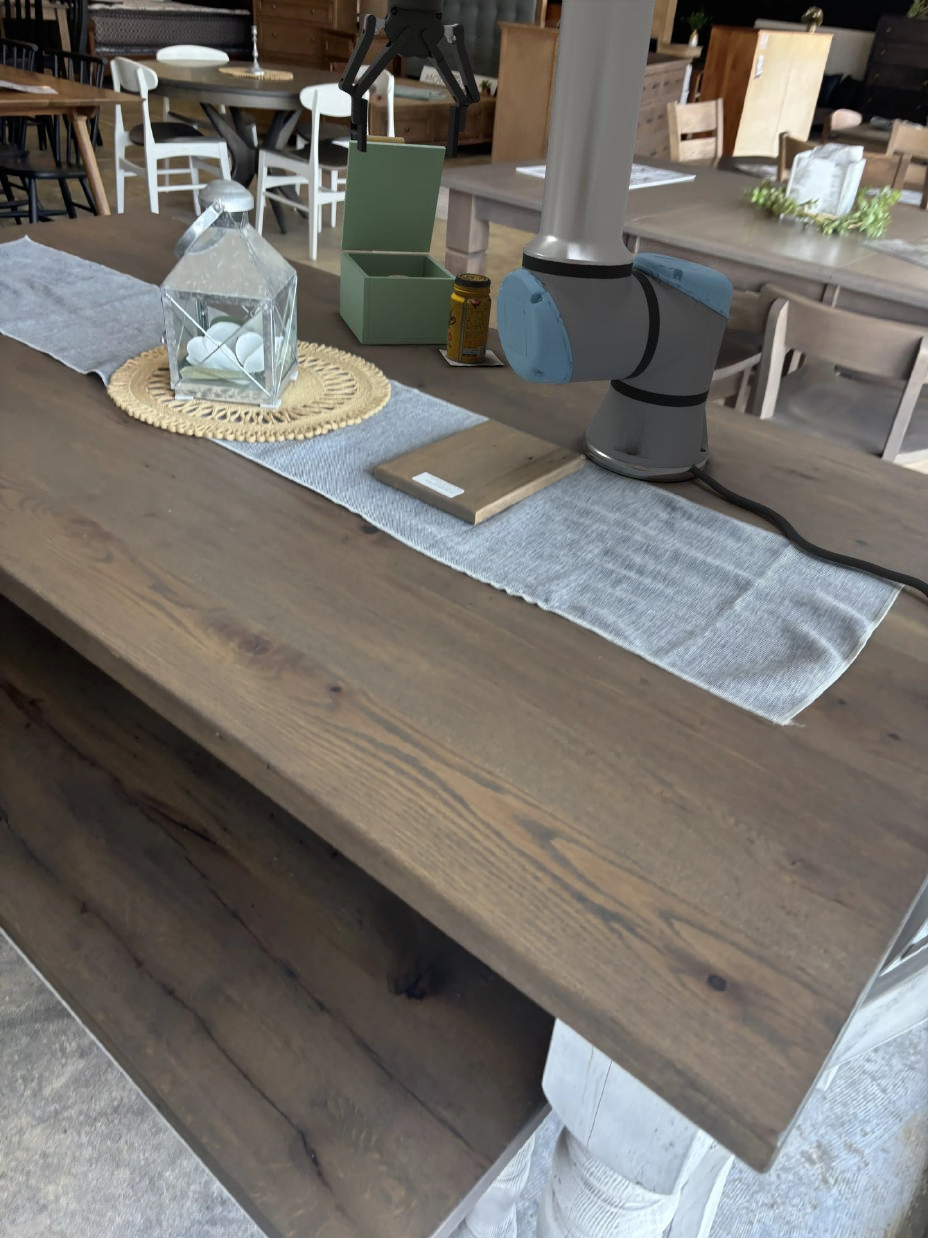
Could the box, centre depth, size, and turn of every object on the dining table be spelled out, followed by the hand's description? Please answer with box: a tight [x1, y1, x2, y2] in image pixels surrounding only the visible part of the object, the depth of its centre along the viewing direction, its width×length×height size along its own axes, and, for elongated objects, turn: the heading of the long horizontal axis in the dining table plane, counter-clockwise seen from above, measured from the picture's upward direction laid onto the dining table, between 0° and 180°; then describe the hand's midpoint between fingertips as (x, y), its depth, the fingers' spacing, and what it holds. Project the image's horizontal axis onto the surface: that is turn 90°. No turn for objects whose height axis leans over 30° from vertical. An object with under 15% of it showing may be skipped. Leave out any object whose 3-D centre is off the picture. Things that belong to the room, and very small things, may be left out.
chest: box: [339, 251, 456, 345], centre depth 145 cm, size 16×15×10 cm
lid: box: [340, 134, 447, 253], centre depth 144 cm, size 17×15×9 cm
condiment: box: [438, 272, 505, 367], centre depth 135 cm, size 7×8×12 cm
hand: (407, 153), depth 132 cm, fingers open, 13 cm apart
